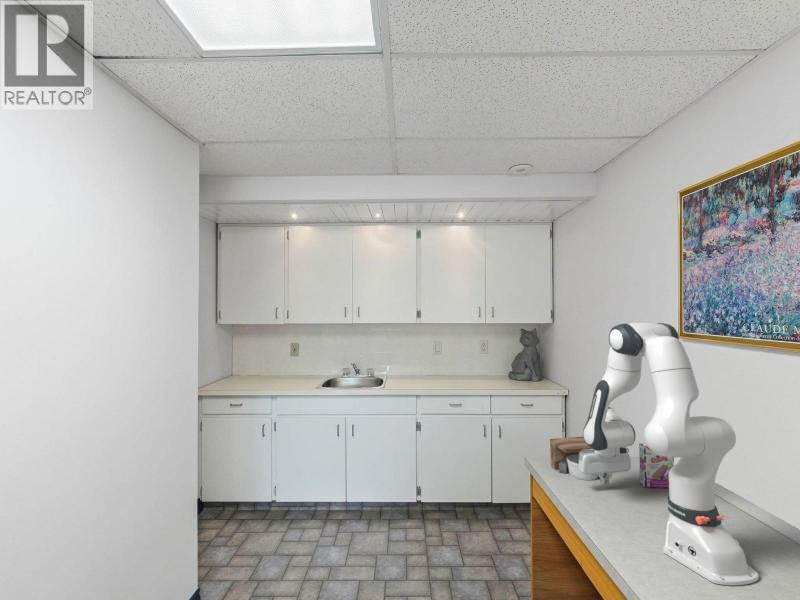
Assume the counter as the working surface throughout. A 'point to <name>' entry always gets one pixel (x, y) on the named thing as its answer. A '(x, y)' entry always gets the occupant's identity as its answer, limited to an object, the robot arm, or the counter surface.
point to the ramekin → (574, 468)
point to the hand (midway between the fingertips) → (605, 483)
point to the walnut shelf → (565, 451)
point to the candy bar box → (654, 468)
